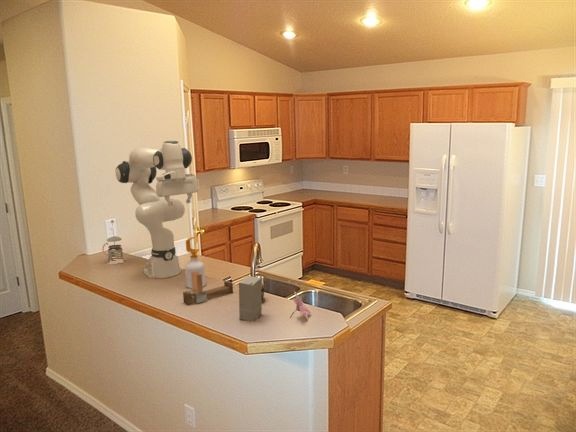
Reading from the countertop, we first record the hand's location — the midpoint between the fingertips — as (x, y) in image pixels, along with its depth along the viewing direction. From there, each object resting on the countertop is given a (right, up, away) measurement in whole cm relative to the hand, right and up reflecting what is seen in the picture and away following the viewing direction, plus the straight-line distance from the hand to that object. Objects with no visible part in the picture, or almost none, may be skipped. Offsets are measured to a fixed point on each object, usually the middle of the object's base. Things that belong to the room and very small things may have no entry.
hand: (179, 204), depth 218 cm
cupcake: (+36, -43, -16) cm, 58 cm away
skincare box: (+37, -46, -34) cm, 68 cm away
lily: (+56, -46, -36) cm, 81 cm away
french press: (-49, -33, +50) cm, 78 cm away
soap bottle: (+7, -40, +6) cm, 40 cm away
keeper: (+12, -43, -14) cm, 47 cm away
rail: (+15, -42, -11) cm, 46 cm away
